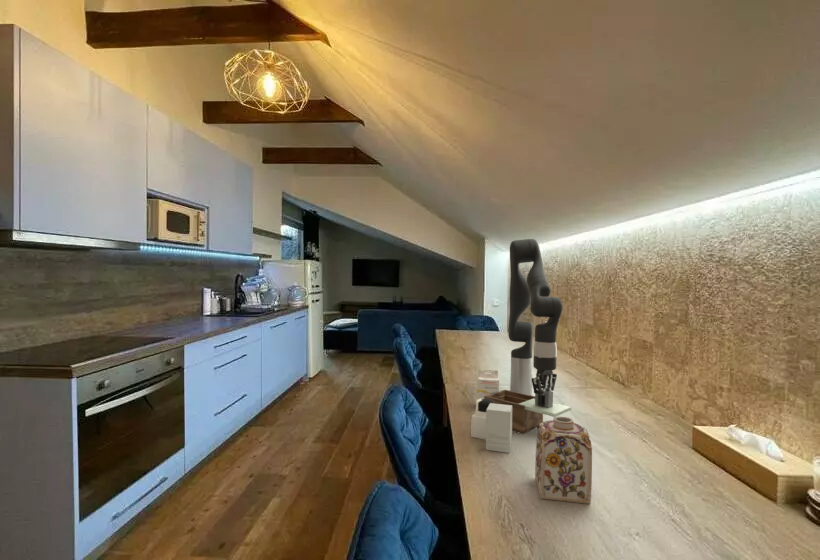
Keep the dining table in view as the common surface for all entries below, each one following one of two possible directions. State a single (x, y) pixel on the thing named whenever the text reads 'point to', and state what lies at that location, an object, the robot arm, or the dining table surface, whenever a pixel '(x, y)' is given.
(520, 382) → the robot arm
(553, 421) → the decorative jar
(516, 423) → the box
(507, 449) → the supplement box
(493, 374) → the ink cartridge box
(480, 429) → the medicine bottle
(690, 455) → the dining table surface
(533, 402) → the lid
